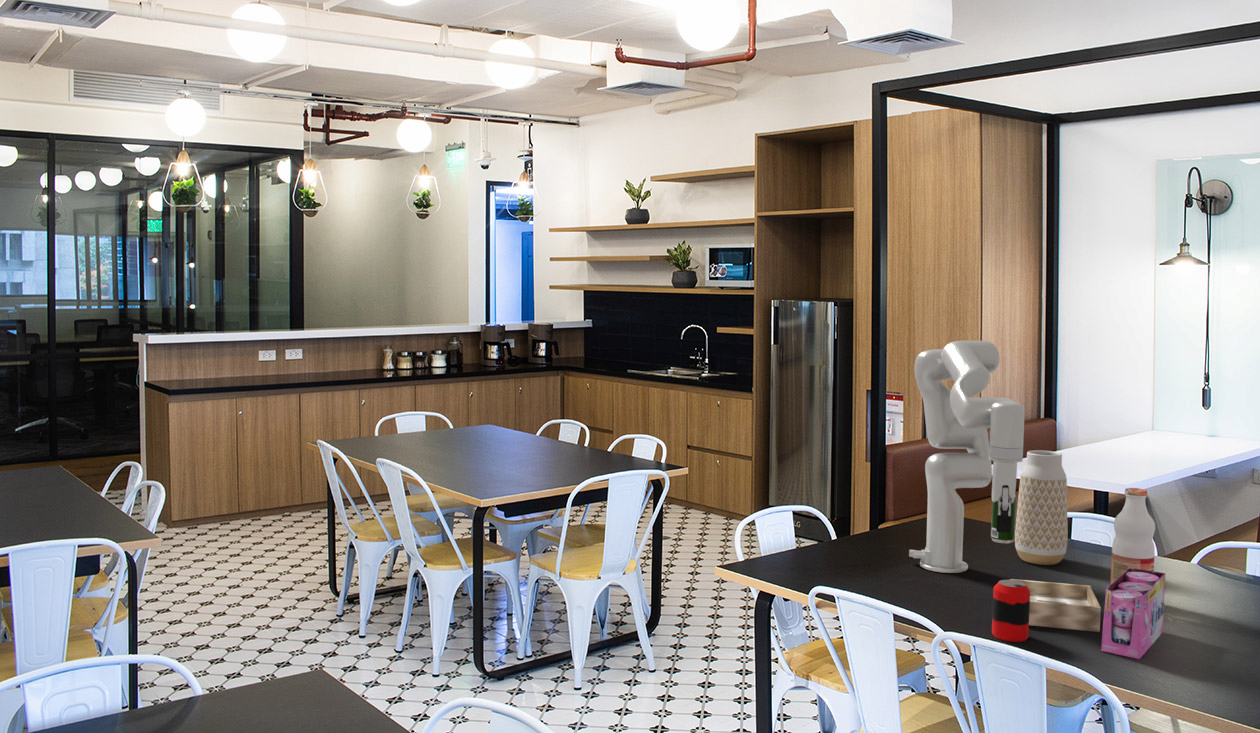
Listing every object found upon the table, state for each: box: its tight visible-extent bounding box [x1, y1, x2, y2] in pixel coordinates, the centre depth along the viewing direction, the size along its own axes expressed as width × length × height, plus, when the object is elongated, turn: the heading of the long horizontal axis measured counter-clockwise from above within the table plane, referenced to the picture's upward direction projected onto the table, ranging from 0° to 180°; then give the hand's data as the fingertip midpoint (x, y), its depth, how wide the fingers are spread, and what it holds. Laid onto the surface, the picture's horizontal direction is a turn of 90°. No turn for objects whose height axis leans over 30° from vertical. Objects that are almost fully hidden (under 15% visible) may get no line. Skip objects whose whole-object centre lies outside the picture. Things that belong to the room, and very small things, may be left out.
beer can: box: [990, 489, 1017, 544], centre depth 248 cm, size 5×5×12 cm
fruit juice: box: [1109, 487, 1156, 586], centre depth 255 cm, size 9×9×28 cm
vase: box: [1014, 449, 1069, 566], centre depth 292 cm, size 14×14×31 cm
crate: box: [1009, 578, 1102, 633], centre depth 245 cm, size 18×18×6 cm
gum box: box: [1100, 568, 1166, 660], centre depth 227 cm, size 24×8×14 cm, turn 142°
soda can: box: [991, 579, 1030, 643], centre depth 230 cm, size 8×8×12 cm
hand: (1003, 528), depth 248 cm, fingers closed on beer can, 5 cm apart
